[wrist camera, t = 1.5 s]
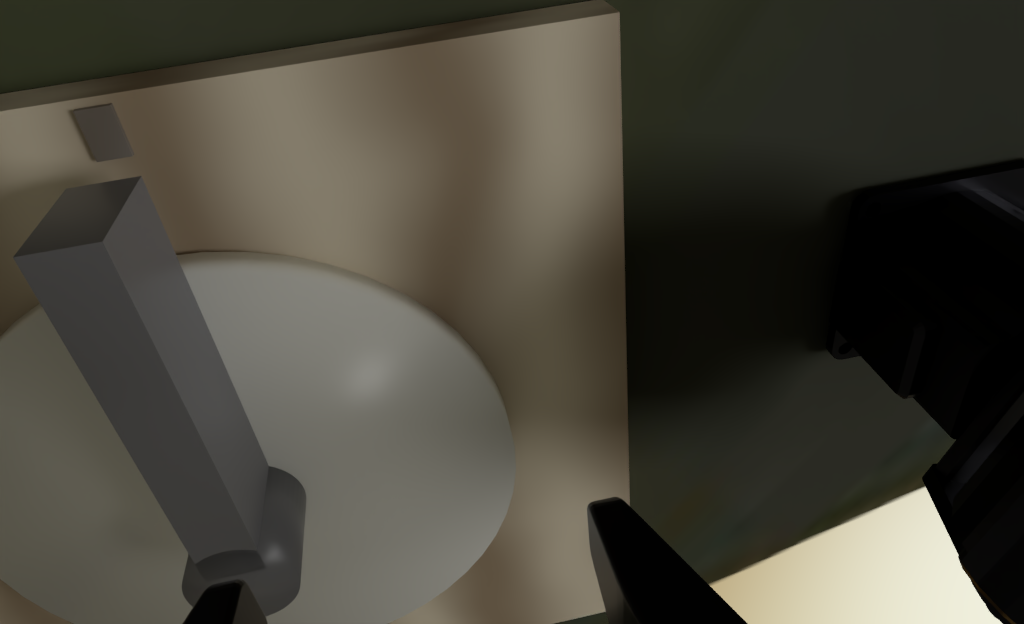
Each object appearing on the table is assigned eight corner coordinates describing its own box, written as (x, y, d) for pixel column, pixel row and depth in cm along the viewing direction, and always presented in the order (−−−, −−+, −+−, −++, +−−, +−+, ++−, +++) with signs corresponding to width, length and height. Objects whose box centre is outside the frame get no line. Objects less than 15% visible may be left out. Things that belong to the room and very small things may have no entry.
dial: (531, 573, 28) (555, 673, 25) (106, 668, 27) (71, 787, 23) (460, 106, 17) (485, 174, 14) (-258, 226, 16) (-414, 332, 13)
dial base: (601, -2, 18) (621, 13, 17) (621, 575, 32) (633, 608, 31) (-446, 164, 16) (-518, 196, 15) (60, 702, 30) (46, 743, 29)
